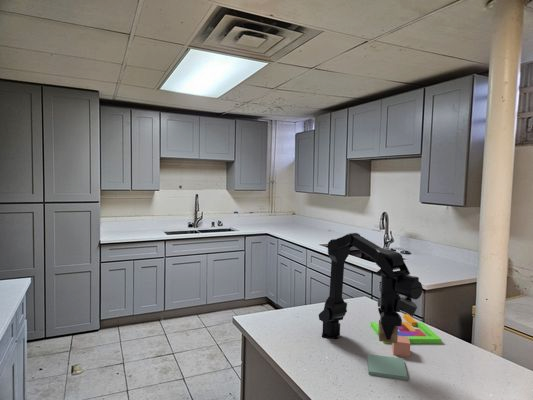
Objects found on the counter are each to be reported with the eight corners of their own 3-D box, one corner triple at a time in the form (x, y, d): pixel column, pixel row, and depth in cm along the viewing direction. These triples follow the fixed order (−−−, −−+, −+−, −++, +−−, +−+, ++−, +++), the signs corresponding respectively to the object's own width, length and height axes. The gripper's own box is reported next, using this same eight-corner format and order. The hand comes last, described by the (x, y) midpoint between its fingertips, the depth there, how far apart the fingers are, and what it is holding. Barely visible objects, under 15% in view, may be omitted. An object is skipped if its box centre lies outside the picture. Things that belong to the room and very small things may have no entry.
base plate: (368, 374, 117) (368, 371, 117) (367, 356, 128) (367, 353, 128) (407, 380, 114) (407, 377, 114) (402, 361, 125) (403, 358, 125)
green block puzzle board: (441, 344, 140) (412, 319, 165) (441, 339, 140) (413, 314, 165) (383, 344, 139) (364, 318, 164) (383, 338, 139) (364, 313, 164)
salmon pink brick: (393, 354, 130) (393, 341, 130) (391, 347, 136) (392, 334, 135) (409, 357, 129) (410, 343, 129) (407, 349, 134) (408, 336, 134)
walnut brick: (379, 341, 118) (380, 326, 118) (378, 333, 124) (378, 319, 123) (397, 343, 117) (398, 328, 117) (395, 336, 122) (396, 321, 122)
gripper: (420, 302, 108) (417, 352, 109) (411, 284, 126) (409, 327, 127) (382, 298, 111) (379, 347, 112) (378, 281, 129) (376, 323, 130)
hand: (387, 335), depth 120 cm, fingers closed on walnut brick, 6 cm apart
